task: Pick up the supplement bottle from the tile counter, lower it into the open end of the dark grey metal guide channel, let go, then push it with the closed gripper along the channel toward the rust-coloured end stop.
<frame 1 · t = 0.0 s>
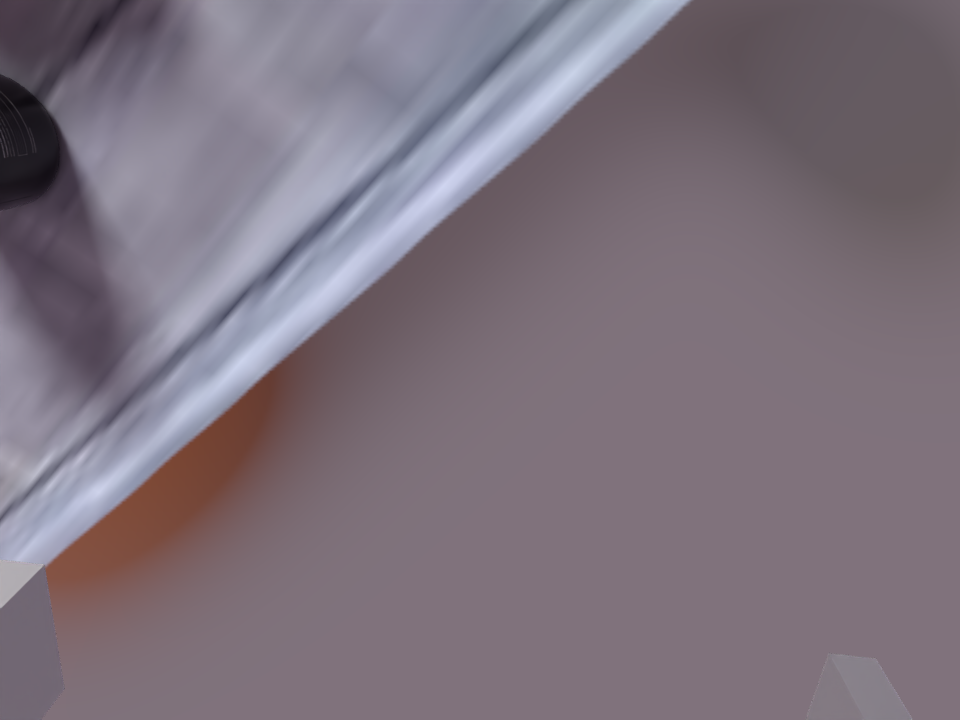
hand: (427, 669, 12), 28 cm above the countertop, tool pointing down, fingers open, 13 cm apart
supplement bottle: (3, 140, 37), on the countertop
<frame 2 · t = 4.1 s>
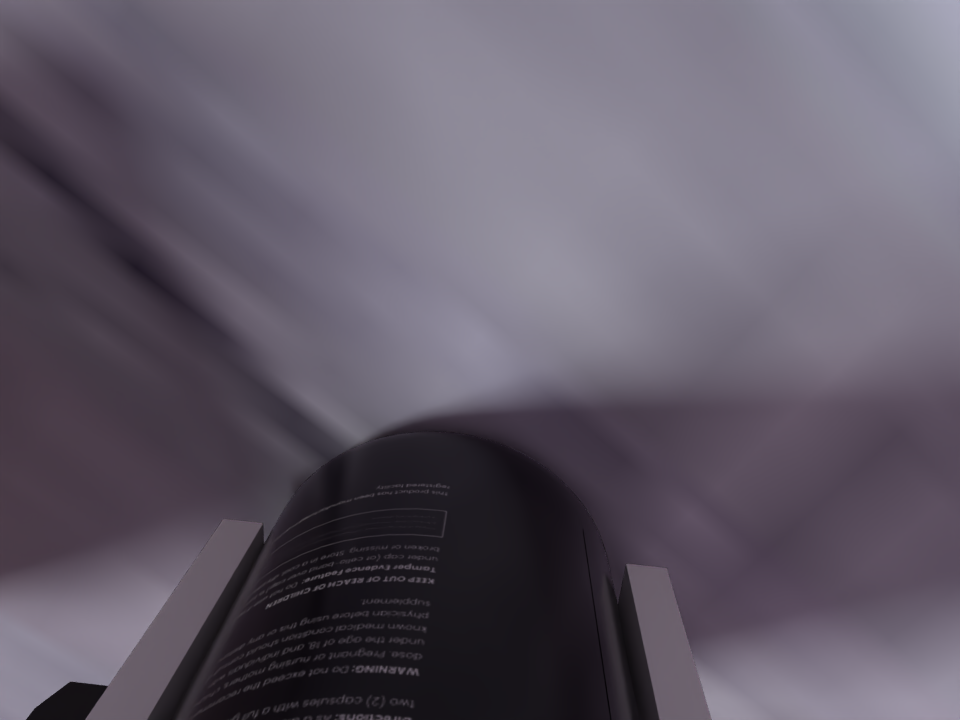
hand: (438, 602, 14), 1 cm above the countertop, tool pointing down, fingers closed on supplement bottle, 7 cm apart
supplement bottle: (444, 561, 15), on the countertop, touching gripper
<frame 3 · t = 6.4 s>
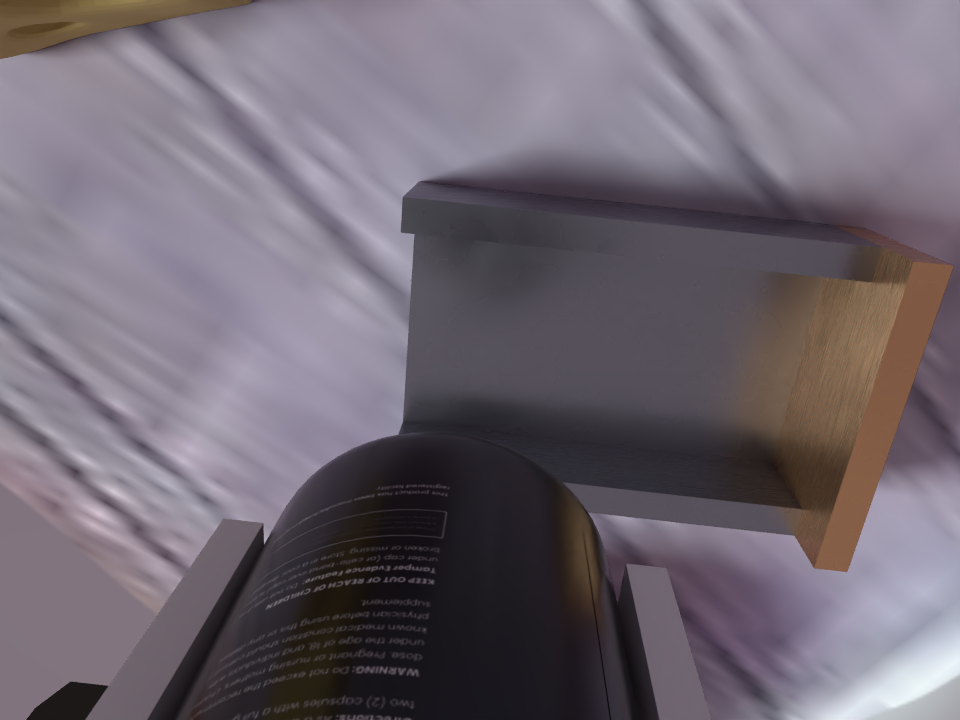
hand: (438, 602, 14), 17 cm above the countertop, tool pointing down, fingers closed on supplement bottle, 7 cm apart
guide channel: (602, 341, 29), on the countertop
supplement bottle: (444, 562, 15), point 16 cm above the countertop, touching gripper
when the fingers open (3 cm above the countertop, at t = 8.9 s): supplement bottle drops 1 cm, resting on guide channel.
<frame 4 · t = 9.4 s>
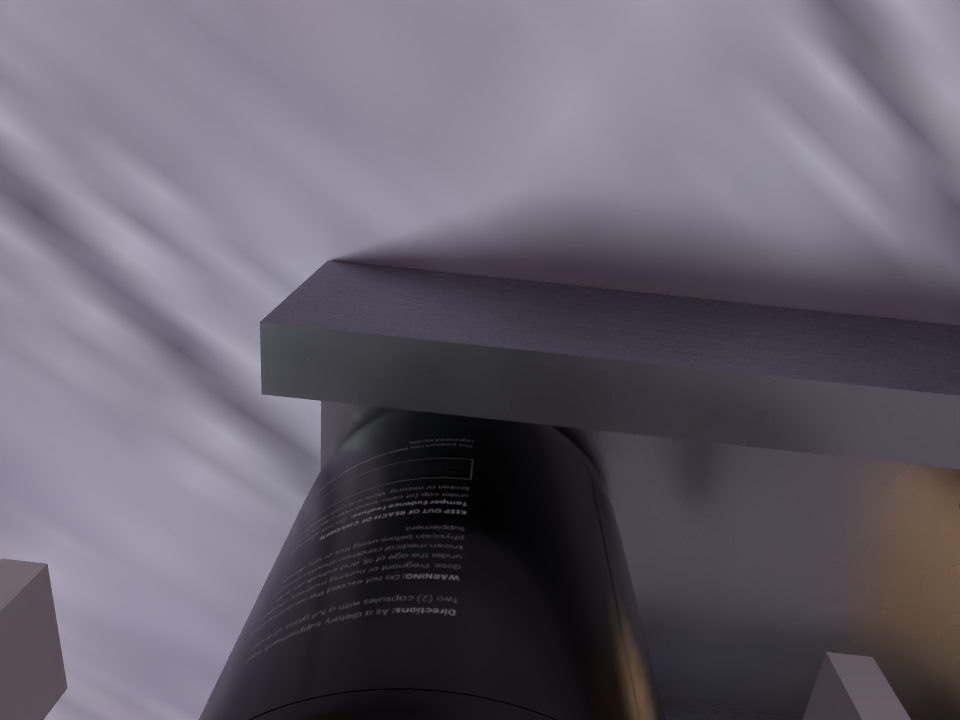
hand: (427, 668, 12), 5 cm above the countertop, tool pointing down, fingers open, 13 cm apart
guide channel: (668, 537, 16), on the countertop
supplement bottle: (465, 520, 16), resting on guide channel
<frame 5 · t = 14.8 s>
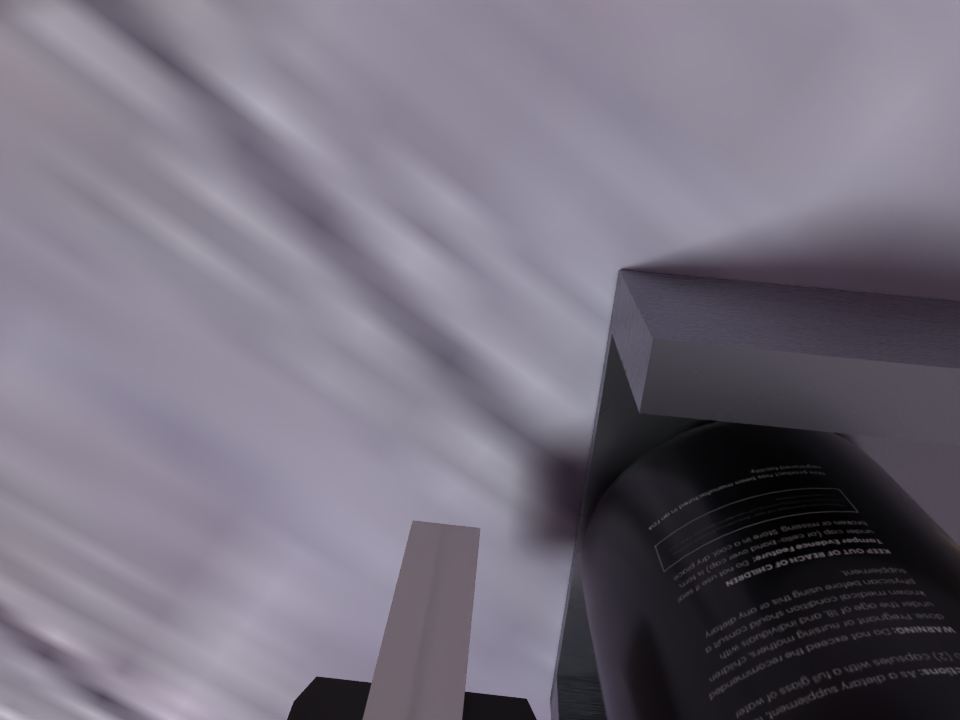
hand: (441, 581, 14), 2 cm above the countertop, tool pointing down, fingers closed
guide channel: (934, 549, 16), on the countertop
supplement bottle: (730, 539, 16), resting on guide channel, touching gripper, hand
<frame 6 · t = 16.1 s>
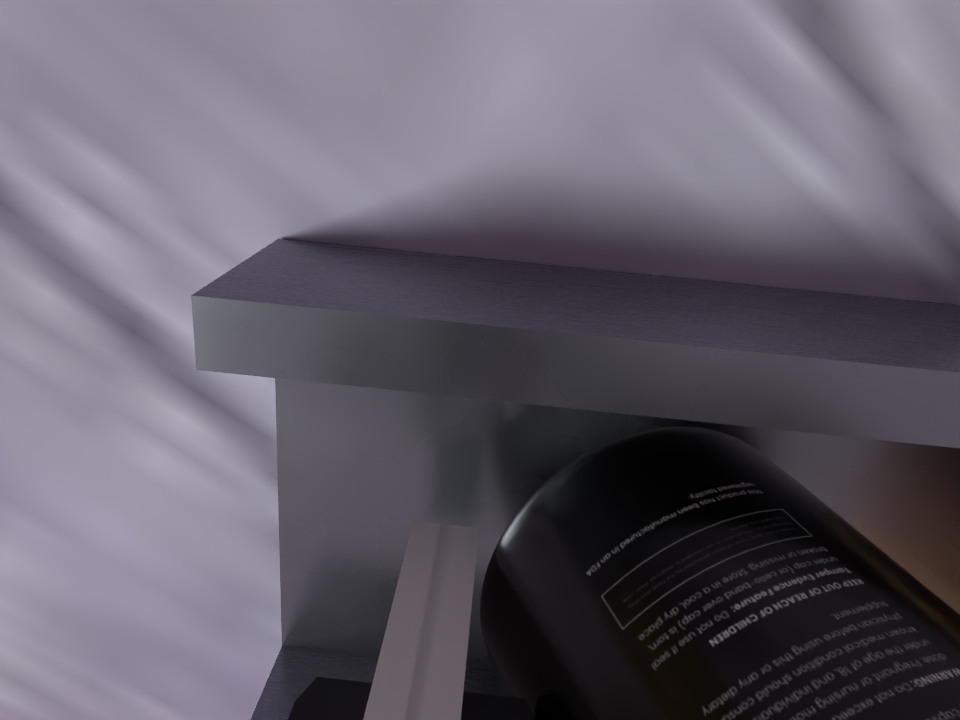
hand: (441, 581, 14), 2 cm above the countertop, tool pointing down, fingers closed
guide channel: (630, 519, 16), on the countertop
supplement bottle: (624, 551, 15), point 1 cm above the countertop, touching gripper, guide channel, hand
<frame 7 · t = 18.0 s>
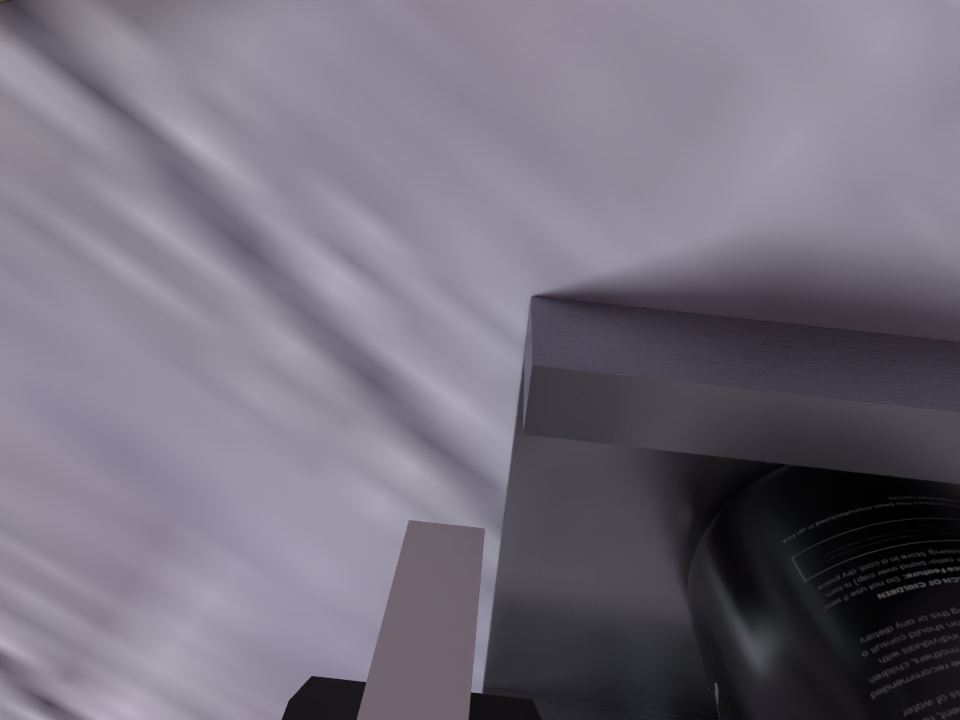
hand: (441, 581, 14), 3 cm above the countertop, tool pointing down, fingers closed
guide channel: (843, 568, 17), on the countertop
supplement bottle: (831, 567, 16), resting on guide channel
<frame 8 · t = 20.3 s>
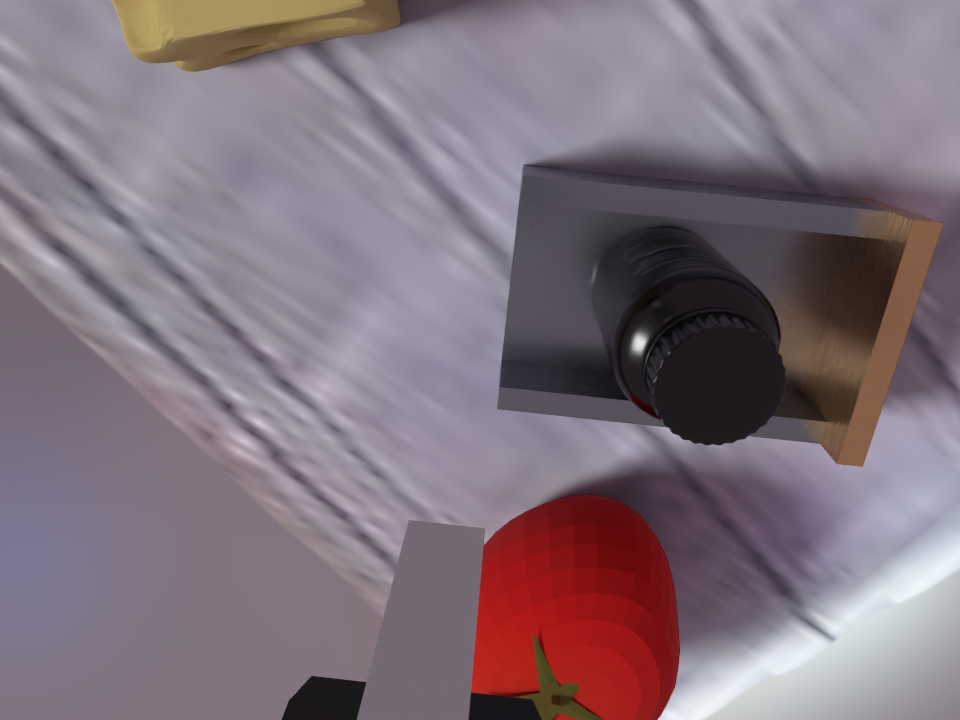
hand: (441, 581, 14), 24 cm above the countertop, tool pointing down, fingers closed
guide channel: (664, 293, 37), on the countertop
tomato: (562, 554, 43), on the countertop
supplement bottle: (657, 291, 37), resting on guide channel
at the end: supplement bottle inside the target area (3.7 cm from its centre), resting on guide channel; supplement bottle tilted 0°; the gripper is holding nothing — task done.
